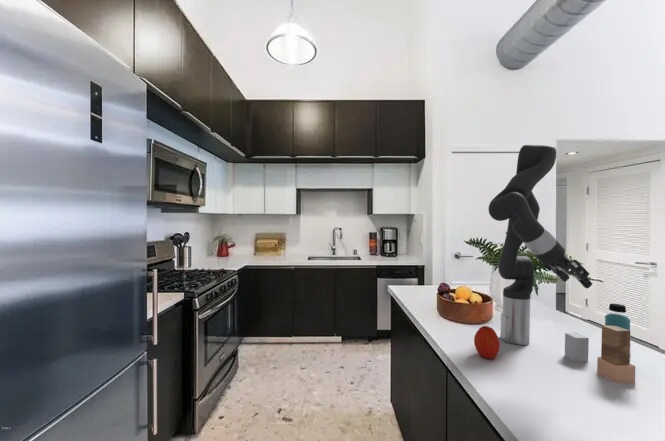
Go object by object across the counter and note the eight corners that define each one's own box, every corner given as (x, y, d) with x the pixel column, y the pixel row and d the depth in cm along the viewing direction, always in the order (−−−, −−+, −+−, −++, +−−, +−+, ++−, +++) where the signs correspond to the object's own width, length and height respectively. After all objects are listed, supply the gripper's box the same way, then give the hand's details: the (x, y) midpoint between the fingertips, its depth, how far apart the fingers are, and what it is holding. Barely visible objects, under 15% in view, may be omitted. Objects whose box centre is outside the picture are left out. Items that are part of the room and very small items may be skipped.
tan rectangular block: (615, 364, 92) (616, 330, 92) (601, 357, 96) (602, 325, 96) (629, 364, 92) (630, 330, 92) (614, 357, 97) (615, 325, 97)
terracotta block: (615, 383, 91) (615, 366, 91) (597, 372, 97) (597, 356, 97) (635, 382, 91) (635, 366, 91) (615, 372, 97) (615, 356, 97)
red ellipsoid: (469, 350, 112) (470, 321, 112) (492, 351, 111) (493, 321, 111) (479, 361, 103) (480, 329, 103) (504, 362, 103) (505, 329, 103)
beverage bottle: (625, 371, 98) (626, 308, 98) (599, 362, 104) (600, 303, 104) (634, 367, 101) (635, 305, 101) (608, 358, 107) (609, 300, 107)
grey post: (575, 361, 104) (575, 337, 104) (564, 355, 109) (565, 332, 109) (588, 361, 105) (588, 337, 105) (576, 355, 109) (577, 332, 109)
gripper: (570, 239, 88) (607, 279, 89) (535, 234, 102) (568, 269, 103) (551, 257, 88) (588, 297, 89) (519, 250, 102) (551, 285, 103)
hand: (577, 282), depth 96 cm, fingers open, 8 cm apart
